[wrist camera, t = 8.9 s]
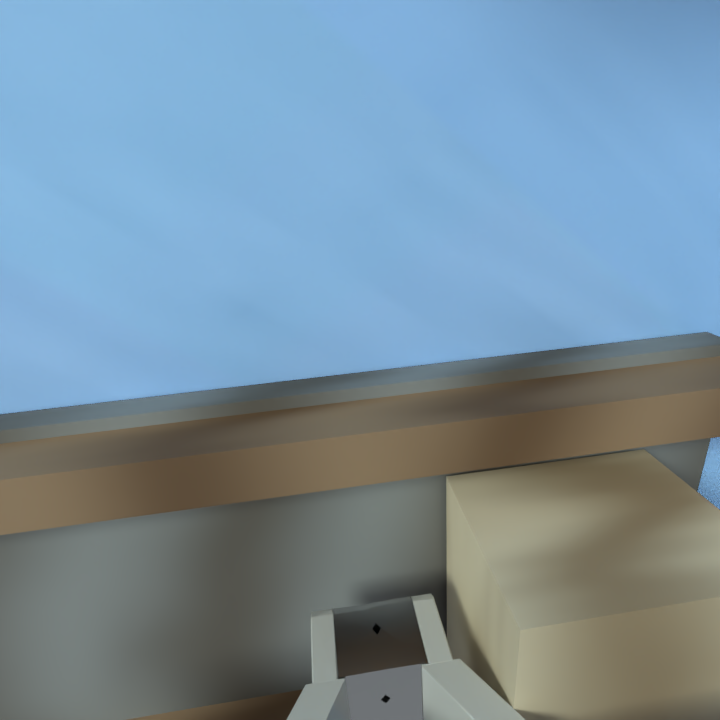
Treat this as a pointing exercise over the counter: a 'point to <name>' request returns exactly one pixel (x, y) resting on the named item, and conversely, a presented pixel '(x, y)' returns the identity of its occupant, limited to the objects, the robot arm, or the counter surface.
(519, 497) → the birch block
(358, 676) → the robot arm
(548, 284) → the counter surface
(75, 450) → the chute
